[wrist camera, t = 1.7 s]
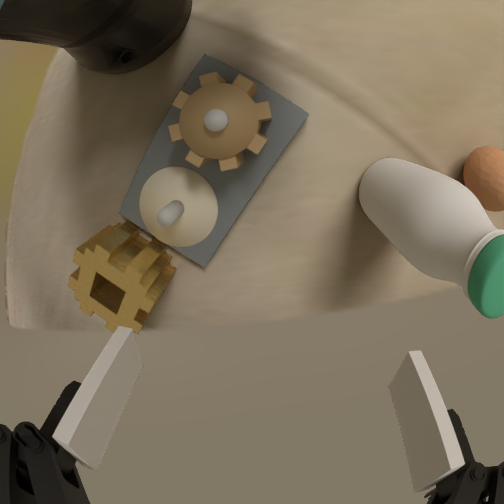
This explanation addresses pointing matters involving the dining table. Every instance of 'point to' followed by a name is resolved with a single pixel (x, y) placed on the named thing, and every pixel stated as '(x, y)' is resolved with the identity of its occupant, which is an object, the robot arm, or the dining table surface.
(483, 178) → the egg
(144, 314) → the gear
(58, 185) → the dining table surface
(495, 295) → the milk bottle
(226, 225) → the gear board
